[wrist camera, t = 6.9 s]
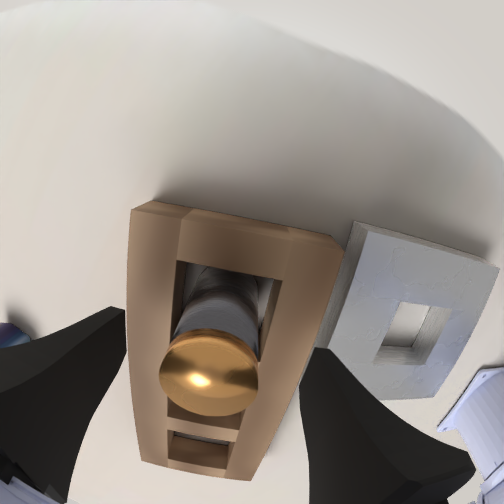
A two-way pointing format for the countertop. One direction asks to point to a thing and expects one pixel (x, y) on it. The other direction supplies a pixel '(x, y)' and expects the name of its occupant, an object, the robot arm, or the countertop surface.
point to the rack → (269, 340)
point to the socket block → (387, 301)
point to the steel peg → (215, 346)
